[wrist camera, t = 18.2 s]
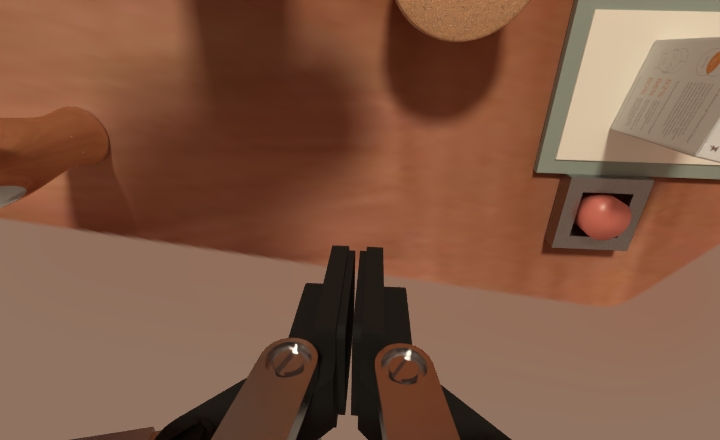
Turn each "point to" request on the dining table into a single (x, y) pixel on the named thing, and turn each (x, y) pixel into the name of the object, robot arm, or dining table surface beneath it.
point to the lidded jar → (460, 17)
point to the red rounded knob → (602, 216)
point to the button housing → (568, 201)
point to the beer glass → (46, 149)
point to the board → (616, 88)
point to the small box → (677, 98)
